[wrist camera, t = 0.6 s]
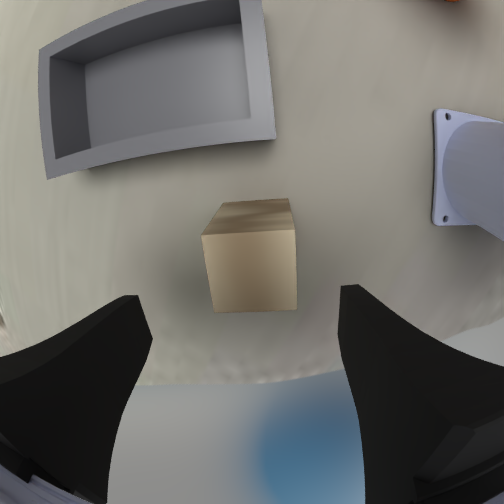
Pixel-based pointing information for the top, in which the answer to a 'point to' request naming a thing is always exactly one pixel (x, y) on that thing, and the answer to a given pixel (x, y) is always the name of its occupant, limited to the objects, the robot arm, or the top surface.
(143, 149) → the grey rectangular open box
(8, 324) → the top surface
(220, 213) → the birch block
